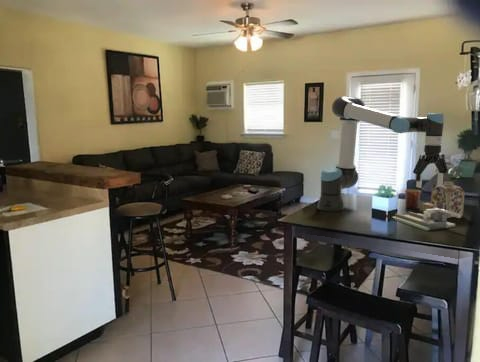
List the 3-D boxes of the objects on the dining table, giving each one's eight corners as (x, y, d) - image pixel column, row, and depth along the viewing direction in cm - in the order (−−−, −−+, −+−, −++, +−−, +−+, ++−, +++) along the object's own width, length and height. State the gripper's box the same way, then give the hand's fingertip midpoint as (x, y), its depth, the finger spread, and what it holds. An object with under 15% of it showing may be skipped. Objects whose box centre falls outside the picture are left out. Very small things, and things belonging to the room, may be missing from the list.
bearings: (430, 222, 195) (430, 211, 194) (434, 221, 196) (435, 211, 195) (441, 226, 188) (442, 215, 187) (446, 225, 189) (447, 214, 188)
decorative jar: (447, 218, 202) (450, 184, 199) (429, 213, 213) (431, 181, 210) (463, 215, 207) (466, 182, 204) (445, 211, 217) (447, 179, 215)
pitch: (392, 218, 203) (392, 213, 202) (418, 215, 209) (419, 210, 208) (426, 230, 181) (426, 225, 181) (455, 226, 187) (455, 221, 187)
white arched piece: (411, 218, 197) (412, 204, 196) (426, 216, 201) (427, 202, 200) (445, 229, 178) (446, 213, 177) (462, 226, 181) (463, 211, 180)
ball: (431, 222, 185) (430, 228, 186) (437, 221, 186) (435, 227, 187) (426, 219, 188) (425, 225, 189) (431, 219, 189) (430, 225, 190)
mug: (402, 206, 231) (403, 189, 230) (417, 206, 230) (418, 189, 228) (407, 210, 220) (408, 193, 218) (423, 211, 218) (424, 193, 216)
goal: (419, 226, 188) (420, 220, 187) (435, 224, 191) (436, 218, 190) (429, 230, 182) (430, 223, 182) (445, 227, 185) (446, 221, 185)
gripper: (419, 146, 184) (415, 189, 188) (458, 144, 192) (454, 186, 196) (407, 144, 191) (404, 186, 195) (445, 143, 199) (442, 183, 203)
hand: (429, 186), depth 195 cm, fingers open, 13 cm apart
